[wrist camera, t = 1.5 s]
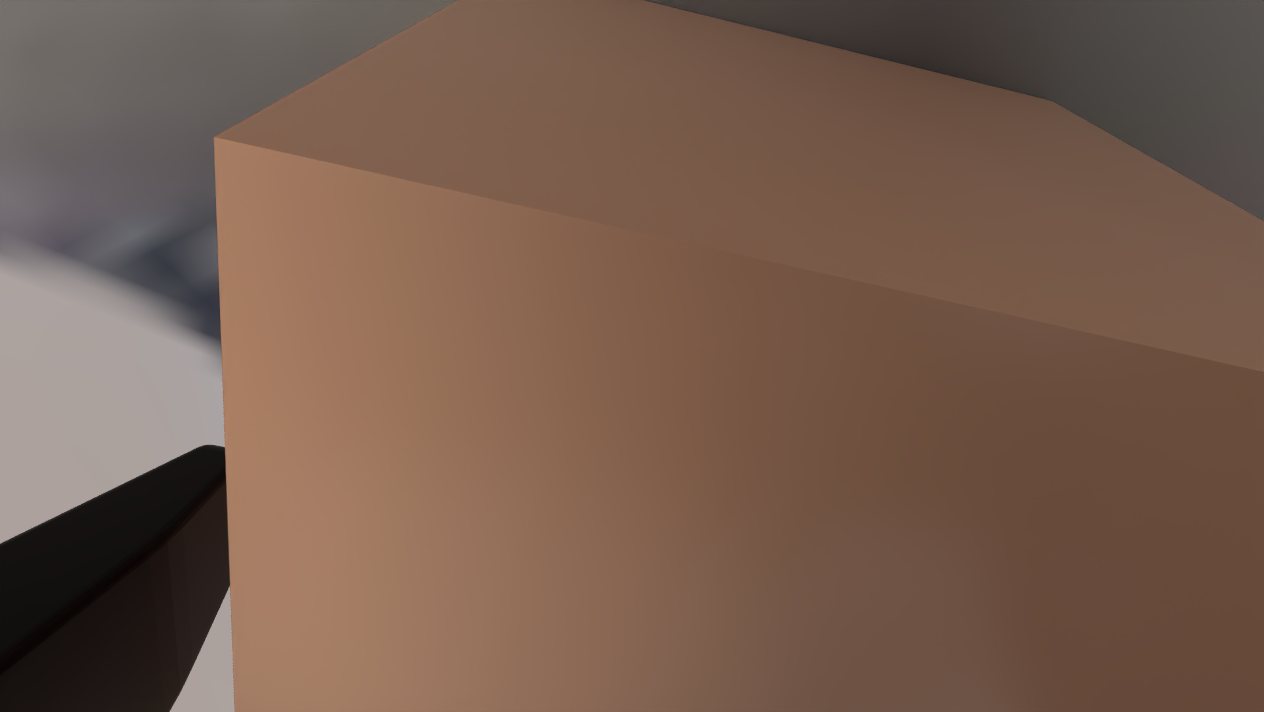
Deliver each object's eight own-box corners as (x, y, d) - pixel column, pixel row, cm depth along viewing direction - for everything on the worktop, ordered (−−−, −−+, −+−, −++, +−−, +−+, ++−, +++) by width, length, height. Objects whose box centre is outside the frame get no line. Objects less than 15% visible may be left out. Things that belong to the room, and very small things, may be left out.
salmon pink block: (1051, 100, 10) (1703, 470, 4) (804, 621, 14) (909, 1179, 8) (514, -32, 9) (214, 137, 3) (434, 551, 14) (248, 1089, 8)
